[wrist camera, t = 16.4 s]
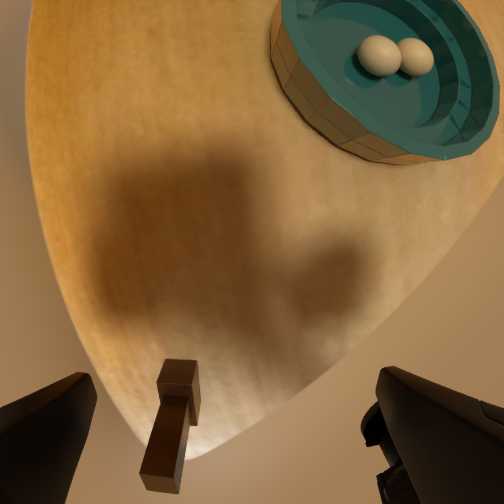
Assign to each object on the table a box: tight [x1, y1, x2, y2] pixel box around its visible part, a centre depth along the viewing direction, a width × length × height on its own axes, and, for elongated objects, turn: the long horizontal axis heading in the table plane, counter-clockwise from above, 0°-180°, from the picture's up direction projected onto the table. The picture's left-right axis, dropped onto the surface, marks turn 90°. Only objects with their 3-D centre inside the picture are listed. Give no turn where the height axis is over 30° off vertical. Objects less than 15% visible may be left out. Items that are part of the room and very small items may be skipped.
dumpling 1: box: [358, 35, 402, 76], centre depth 15 cm, size 3×3×3 cm
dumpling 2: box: [396, 38, 434, 76], centre depth 15 cm, size 3×3×3 cm
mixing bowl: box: [271, 0, 500, 165], centre depth 14 cm, size 16×16×6 cm
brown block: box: [139, 360, 201, 494], centre depth 16 cm, size 4×2×10 cm, turn 179°
